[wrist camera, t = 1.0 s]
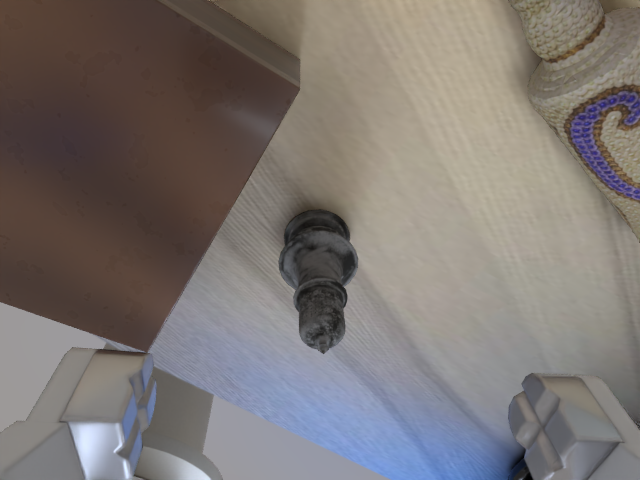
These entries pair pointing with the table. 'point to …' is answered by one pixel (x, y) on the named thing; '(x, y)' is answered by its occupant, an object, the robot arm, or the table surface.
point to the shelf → (125, 151)
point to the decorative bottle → (590, 90)
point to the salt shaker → (319, 274)
